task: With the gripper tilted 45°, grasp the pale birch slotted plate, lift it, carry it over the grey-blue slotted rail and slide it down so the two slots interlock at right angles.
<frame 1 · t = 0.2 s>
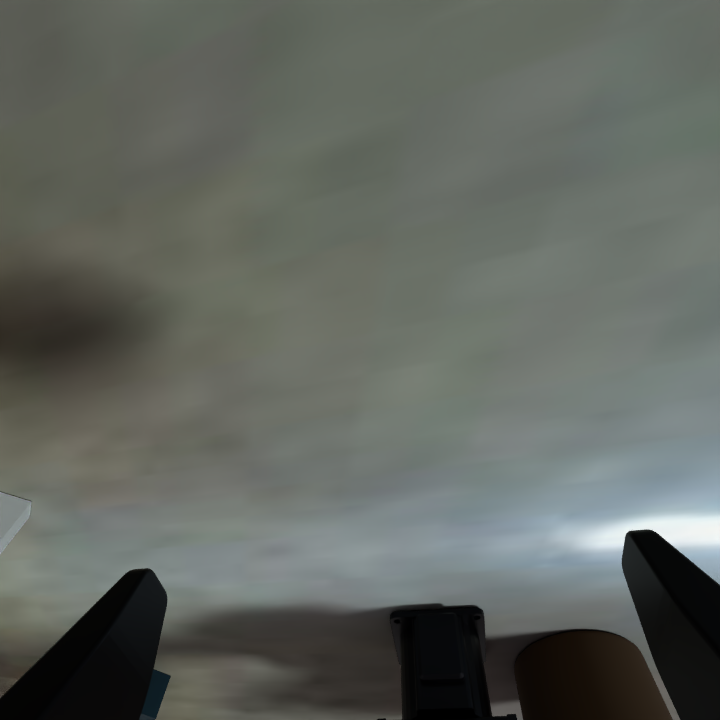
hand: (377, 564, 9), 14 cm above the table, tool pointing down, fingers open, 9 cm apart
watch: (135, 677, 42), on the table
olive oil: (574, 661, 37), on the table
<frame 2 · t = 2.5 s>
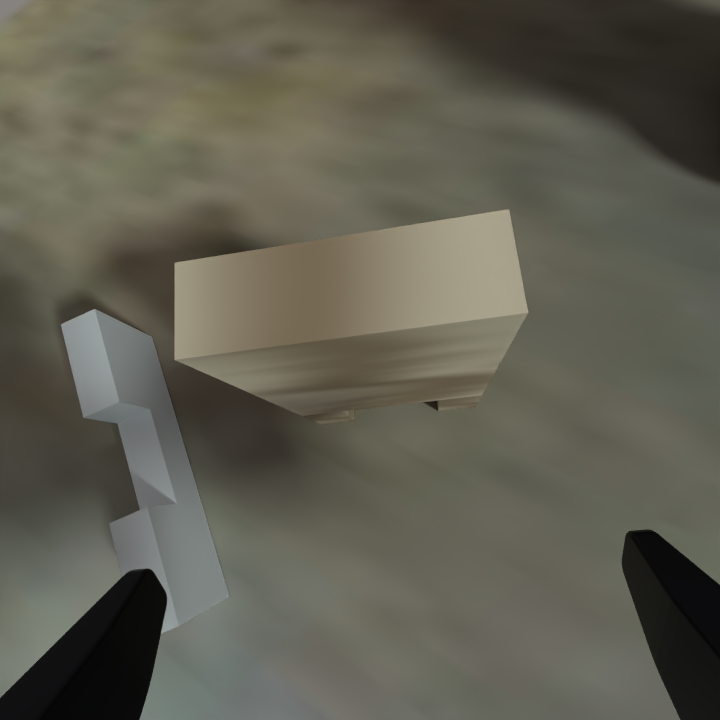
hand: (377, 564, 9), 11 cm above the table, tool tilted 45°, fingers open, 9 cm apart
slotted rail: (172, 463, 21), on the table
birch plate: (393, 392, 21), on the table
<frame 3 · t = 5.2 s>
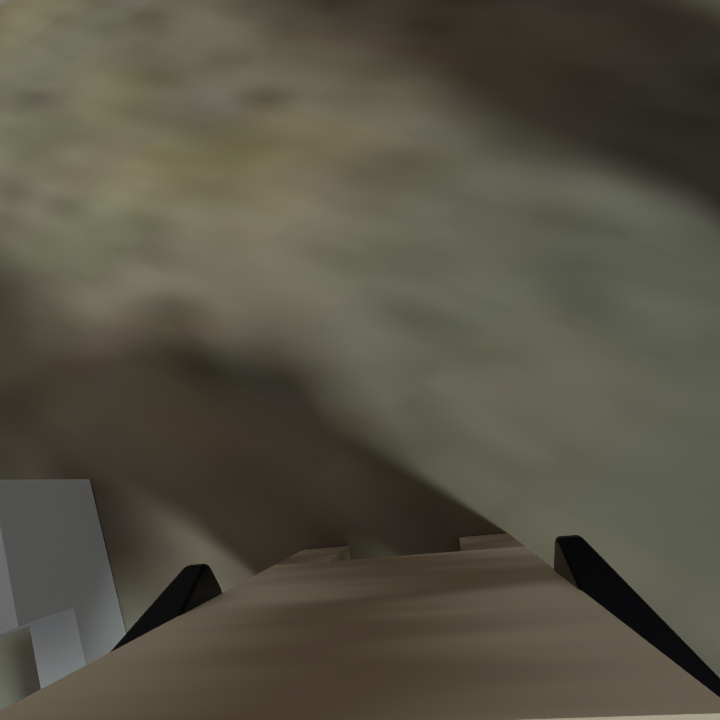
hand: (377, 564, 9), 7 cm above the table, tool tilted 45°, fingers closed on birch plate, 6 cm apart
slotted rail: (110, 662, 16), on the table
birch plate: (406, 575, 15), on the table, touching gripper
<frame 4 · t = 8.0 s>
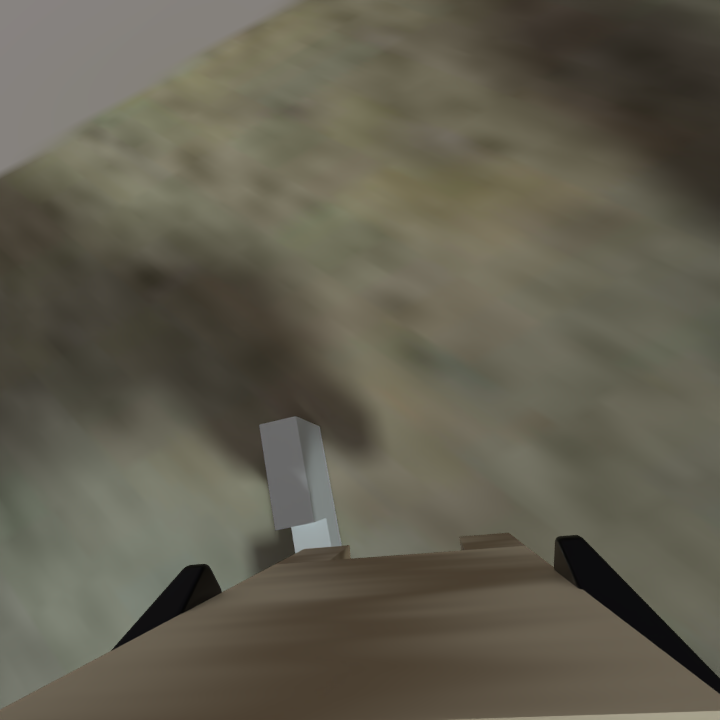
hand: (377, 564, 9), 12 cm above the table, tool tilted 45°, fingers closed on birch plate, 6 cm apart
slotted rail: (328, 564, 21), on the table
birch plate: (407, 574, 15), point 6 cm above the table, touching gripper
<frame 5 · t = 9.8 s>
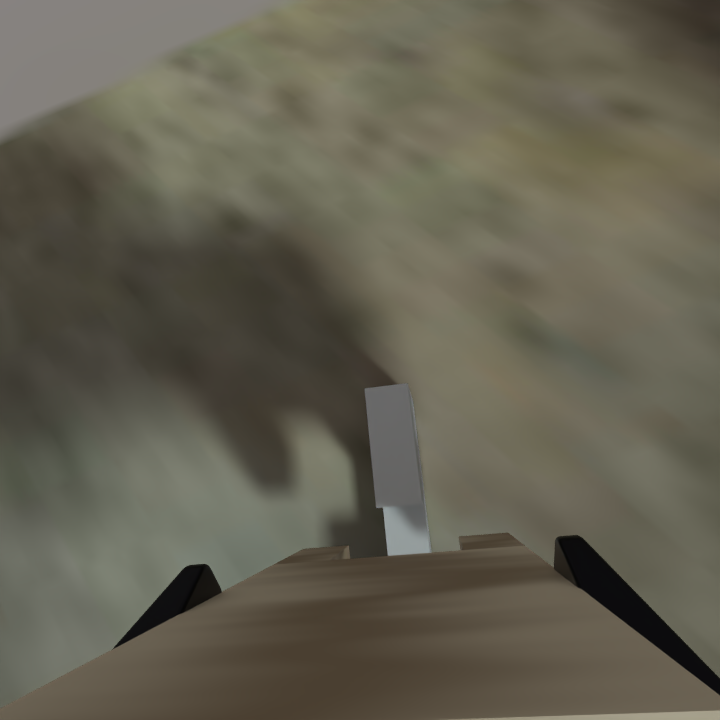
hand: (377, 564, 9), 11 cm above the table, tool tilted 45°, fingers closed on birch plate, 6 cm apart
slotted rail: (412, 552, 19), on the table
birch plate: (406, 574, 15), point 4 cm above the table, touching gripper
when the fingers open (8 cm above the table, at t = 11.3 s): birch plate drops 2 cm, on the table.
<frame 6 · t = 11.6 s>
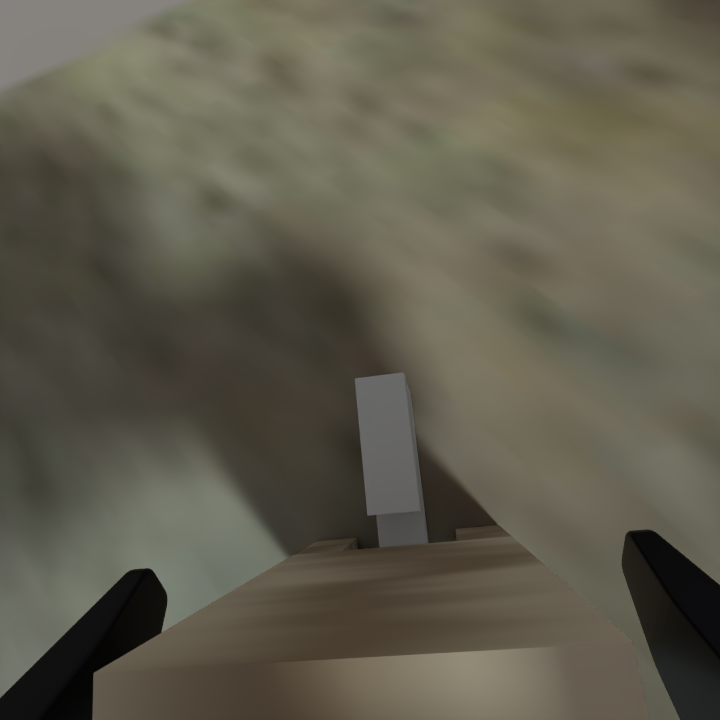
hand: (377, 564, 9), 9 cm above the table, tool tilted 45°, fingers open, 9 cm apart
slotted rail: (409, 564, 17), on the table
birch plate: (409, 563, 17), on the table
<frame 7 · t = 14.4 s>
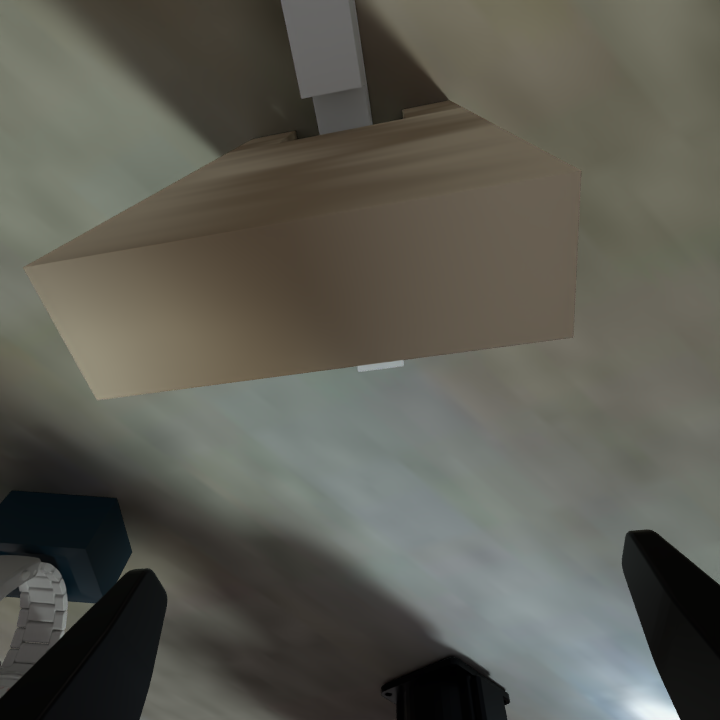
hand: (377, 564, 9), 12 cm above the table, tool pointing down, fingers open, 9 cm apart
slotted rail: (354, 154, 16), on the table
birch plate: (353, 153, 16), on the table
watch: (77, 521, 27), on the table
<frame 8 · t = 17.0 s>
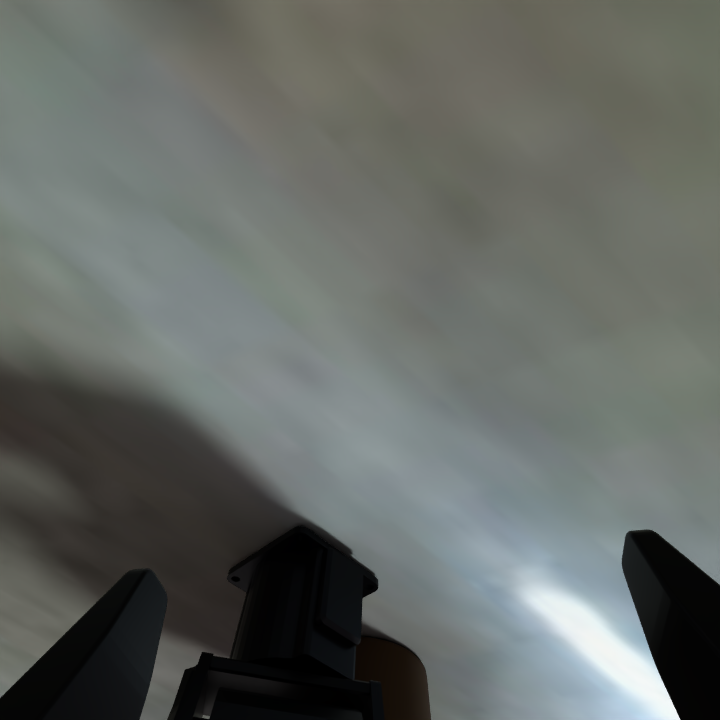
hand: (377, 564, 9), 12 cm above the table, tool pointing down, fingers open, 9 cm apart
olive oil: (357, 668, 34), on the table
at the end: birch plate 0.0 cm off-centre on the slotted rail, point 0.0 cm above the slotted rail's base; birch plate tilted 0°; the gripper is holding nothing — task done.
